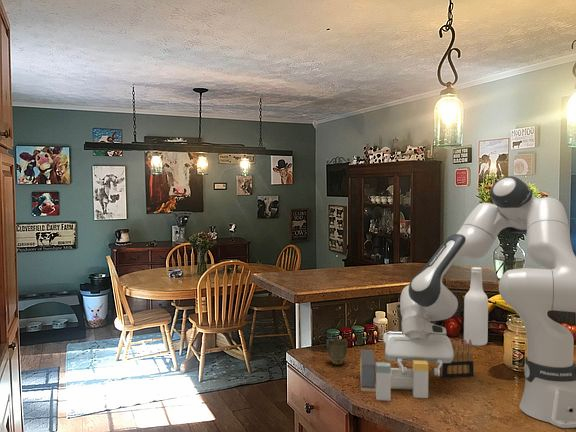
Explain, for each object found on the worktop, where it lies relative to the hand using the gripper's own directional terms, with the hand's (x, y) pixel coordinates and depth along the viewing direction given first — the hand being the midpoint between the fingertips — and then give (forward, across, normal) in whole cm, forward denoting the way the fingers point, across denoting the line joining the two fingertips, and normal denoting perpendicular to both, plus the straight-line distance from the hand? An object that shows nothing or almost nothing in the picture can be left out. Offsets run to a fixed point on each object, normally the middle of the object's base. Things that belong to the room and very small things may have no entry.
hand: (420, 374), depth 143 cm
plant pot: (-26, +5, +36) cm, 45 cm away
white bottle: (-34, +29, +43) cm, 62 cm away
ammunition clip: (-7, +14, +17) cm, 23 cm away
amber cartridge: (+4, 0, +4) cm, 6 cm away
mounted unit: (-2, -15, +11) cm, 19 cm away
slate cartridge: (+7, -11, +2) cm, 13 cm away
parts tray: (-2, -4, +11) cm, 12 cm away
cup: (-12, -25, +22) cm, 35 cm away
